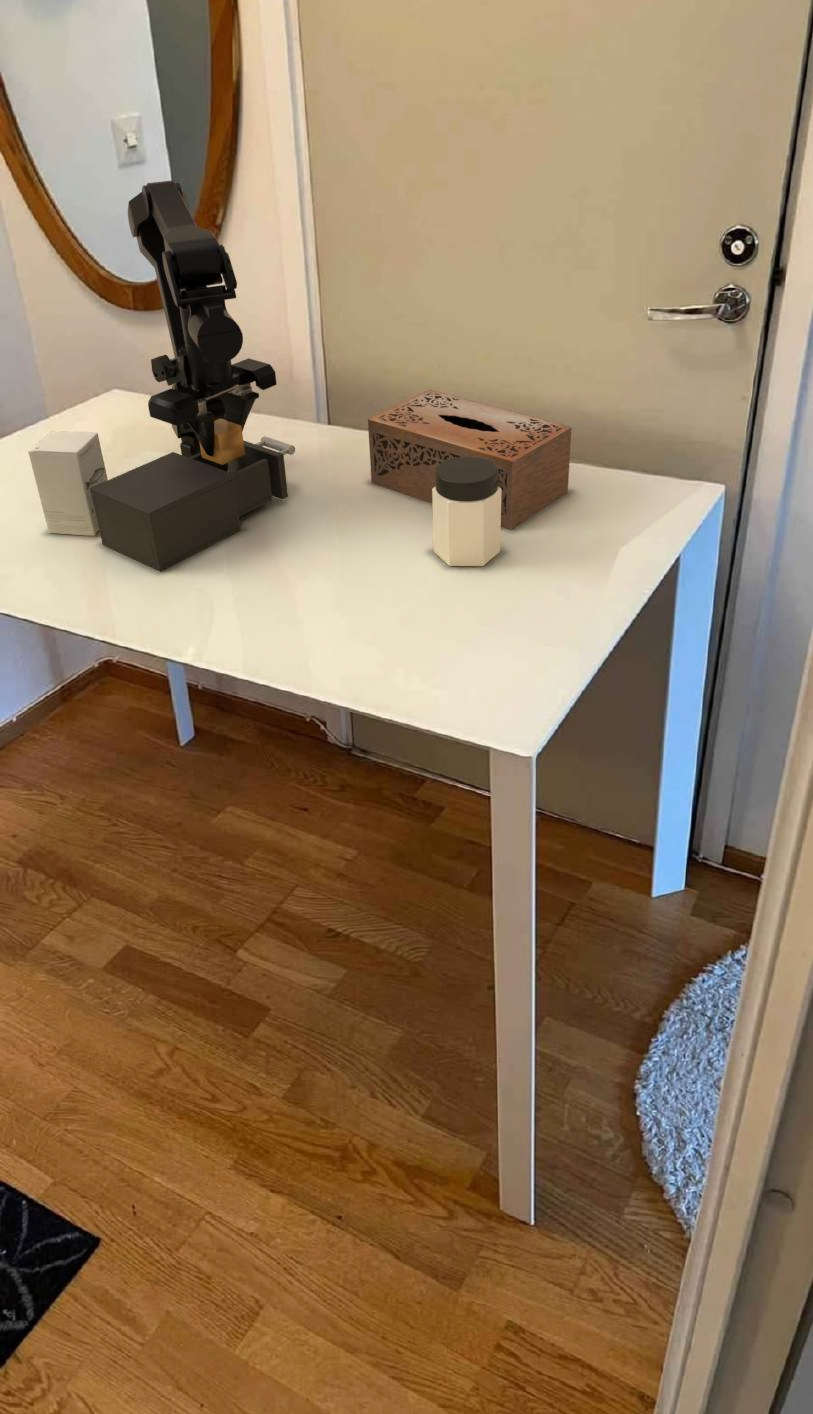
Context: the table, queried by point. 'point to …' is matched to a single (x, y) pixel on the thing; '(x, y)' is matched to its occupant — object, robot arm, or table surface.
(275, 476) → the dark brown drawer
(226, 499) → the brown drawer box
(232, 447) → the block
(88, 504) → the white packaging box
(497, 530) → the jar
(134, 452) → the table surface
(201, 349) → the robot arm
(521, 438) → the tissue box cover
